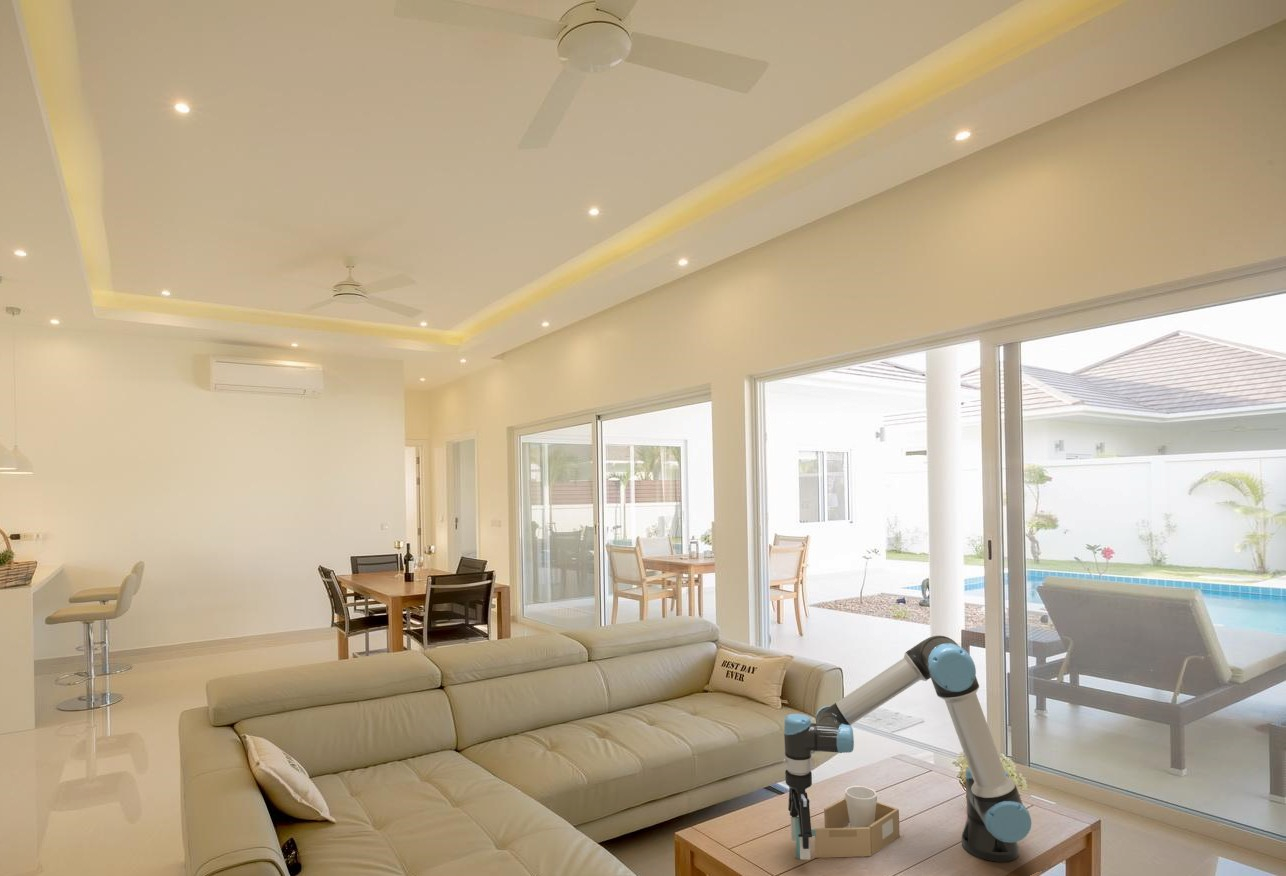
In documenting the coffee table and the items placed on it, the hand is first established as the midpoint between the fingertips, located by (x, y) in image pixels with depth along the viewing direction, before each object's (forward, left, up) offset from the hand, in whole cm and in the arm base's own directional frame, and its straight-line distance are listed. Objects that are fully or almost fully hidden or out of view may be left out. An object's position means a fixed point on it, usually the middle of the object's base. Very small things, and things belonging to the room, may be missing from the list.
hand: (800, 849), depth 210 cm
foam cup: (-5, -24, -3) cm, 25 cm away
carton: (-5, -24, -3) cm, 25 cm away
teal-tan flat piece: (-6, -8, -2) cm, 10 cm away
